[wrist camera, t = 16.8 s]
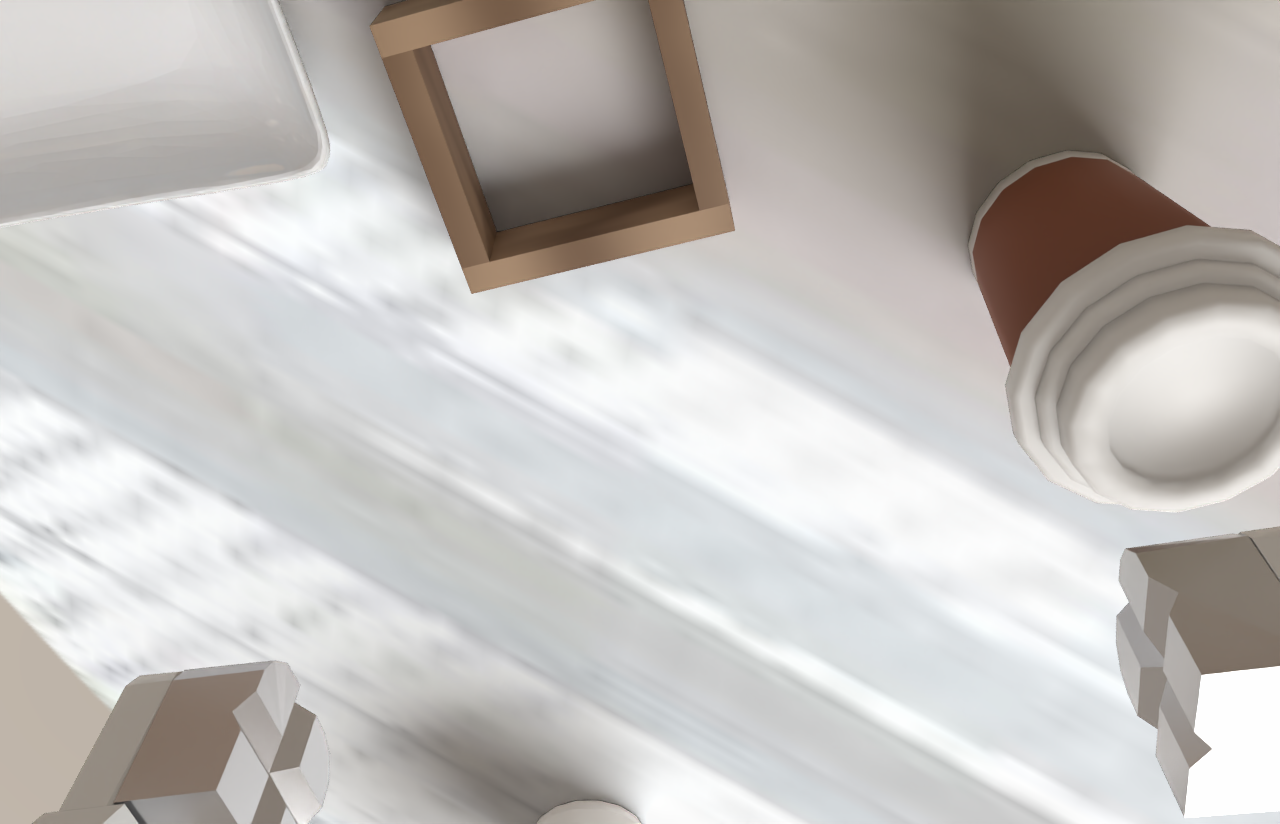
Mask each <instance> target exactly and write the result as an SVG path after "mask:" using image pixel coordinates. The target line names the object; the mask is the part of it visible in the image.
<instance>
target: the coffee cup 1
mask: <svg viewBox="0 0 1280 824" xmlns="http://www.w3.org/2000/svg"><path fill="white" fill-rule="evenodd" d="M536 824H641V823H640V821H639V820H638V818H637V817H636V815H634V814H632V813H631V812H629V811H627V810H626V809H624V808H623V807H621V806H619V805H615V804H611V803H607V802H603V801H599V800H591V801H573V802H570V803H566V804H563V805H559V806H556V807H554V808H553V809H552V810H550V811H549V812H547V813H546V814H544V815H543V816H542V817H540V819H539V820H538V822H537V823H536Z"/></svg>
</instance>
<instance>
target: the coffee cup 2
mask: <svg viewBox="0 0 1280 824" xmlns="http://www.w3.org/2000/svg"><path fill="white" fill-rule="evenodd" d="M968 248H969V254H970V260H971V266H972V271H973V275H974V277H975V279H976V280H977V282H978V285H979V287H980V290H981V292H982V295H983V298H984V300H985V303H986V305H987V308H988V310H989V313H990V316H991V318H992V321H993V323H994V326H995V328H996V331H997V334H998V336H999V339H1000V341H1001V344H1002V347H1003V349H1004V352H1005V354H1006V357H1007V359H1008V362H1009V365H1010V371H1009V374H1008V377H1007V380H1006V384H1005V388H1006V394H1007V400H1008V406H1009V412H1010V418H1011V424H1012V430H1013V434H1014V436H1015V438H1016V440H1017V442H1018V443H1019V445H1020V446H1021V447H1022V449H1023V450H1024V451H1025V452H1026V454H1027V455H1028V456H1029V457H1030V459H1031V460H1032V461H1033V462H1034V464H1035V465H1036V466H1037V467H1038V469H1039V470H1040V471H1041V472H1042V474H1043V475H1044V476H1045V477H1046V479H1047V480H1048V481H1050V482H1052V483H1054V484H1056V485H1058V486H1061V487H1063V488H1065V489H1067V490H1069V491H1072V492H1074V493H1076V494H1078V495H1080V496H1082V497H1085V498H1087V499H1089V500H1091V501H1093V502H1096V503H1105V504H1120V505H1123V506H1125V507H1127V508H1129V509H1131V510H1147V511H1163V512H1181V511H1185V510H1190V509H1194V508H1198V507H1202V506H1206V505H1211V504H1215V503H1219V502H1223V501H1227V500H1229V499H1231V498H1232V497H1234V496H1236V495H1238V494H1240V493H1242V492H1243V491H1245V490H1247V489H1249V488H1251V487H1252V486H1254V485H1256V484H1258V483H1260V482H1262V481H1263V480H1265V479H1267V478H1269V477H1271V476H1272V475H1273V474H1274V473H1275V472H1276V471H1277V470H1278V469H1279V468H1280V246H1278V245H1276V244H1275V243H1273V242H1271V241H1269V240H1268V239H1266V238H1264V237H1262V236H1260V235H1259V234H1257V233H1255V232H1253V231H1252V230H1244V229H1231V228H1217V227H1211V226H1209V225H1208V224H1206V223H1205V222H1203V221H1202V220H1200V219H1199V218H1197V217H1196V216H1195V215H1193V214H1192V213H1190V212H1189V211H1187V210H1186V209H1184V208H1183V207H1181V206H1180V205H1178V204H1177V203H1175V202H1174V201H1172V200H1171V199H1170V198H1168V197H1167V196H1165V195H1164V194H1162V193H1161V192H1159V191H1158V190H1156V189H1155V188H1153V187H1152V186H1150V185H1149V184H1147V183H1146V182H1145V181H1143V180H1142V179H1140V178H1139V177H1137V176H1136V175H1135V174H1134V173H1133V172H1131V171H1130V170H1129V169H1128V168H1126V167H1124V166H1123V165H1121V164H1119V163H1117V162H1116V161H1114V160H1112V159H1110V158H1108V157H1107V156H1105V155H1103V154H1101V153H1092V152H1080V151H1067V150H1065V151H1062V152H1058V153H1055V154H1052V155H1048V156H1045V157H1041V158H1038V159H1035V160H1031V161H1029V162H1027V163H1026V164H1024V165H1023V166H1021V167H1020V168H1019V169H1017V170H1016V171H1014V172H1013V173H1012V174H1010V175H1009V176H1007V177H1006V178H1004V179H1003V180H1002V181H1000V182H999V183H998V184H997V185H996V186H995V188H994V189H993V191H992V192H991V193H990V195H989V196H988V197H987V199H986V200H985V202H984V203H983V204H982V206H981V207H980V209H979V210H978V211H977V213H976V216H975V220H974V224H973V228H972V231H971V235H970V239H969V243H968Z"/></svg>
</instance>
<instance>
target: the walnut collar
mask: <svg viewBox="0 0 1280 824" xmlns="http://www.w3.org/2000/svg"><path fill="white" fill-rule="evenodd" d="M590 1H594V0H407V1H403V2H400V3H396V4H392V5H389V6H385V7H384V8H383V9H382V11H381V12H380V13H379V15H378V16H377V17H376V18H375V20H374V21H373V22H372V23H371V25H370V29H371V31H372V34H373V37H374V39H375V42H376V45H377V47H378V50H379V52H380V55H381V58H382V60H383V63H384V66H385V68H386V71H387V73H388V76H389V79H390V81H391V84H392V86H393V89H394V92H395V94H396V97H397V100H398V102H399V105H400V107H401V110H402V113H403V115H404V118H405V121H406V123H407V126H408V128H409V131H410V134H411V136H412V139H413V142H414V144H415V147H416V149H417V152H418V155H419V157H420V160H421V163H422V165H423V168H424V170H425V173H426V176H427V178H428V181H429V183H430V186H431V189H432V191H433V194H434V197H435V199H436V202H437V204H438V207H439V210H440V212H441V215H442V218H443V220H444V223H445V225H446V228H447V231H448V233H449V236H450V239H451V241H452V244H453V246H454V249H455V252H456V254H457V257H458V260H459V262H460V265H461V267H462V270H463V273H464V275H465V278H466V280H467V283H468V286H469V288H470V291H471V294H473V293H477V292H482V291H486V290H490V289H494V288H498V287H502V286H507V285H511V284H515V283H519V282H523V281H527V280H531V279H536V278H540V277H544V276H548V275H552V274H556V273H561V272H565V271H569V270H573V269H577V268H581V267H586V266H590V265H594V264H598V263H602V262H606V261H611V260H615V259H619V258H623V257H627V256H631V255H636V254H640V253H644V252H648V251H652V250H656V249H660V248H665V247H669V246H673V245H677V244H681V243H685V242H690V241H694V240H698V239H702V238H706V237H710V236H715V235H719V234H723V233H727V232H731V231H735V228H734V223H733V217H732V212H731V207H730V202H729V198H728V193H727V189H726V184H725V180H724V176H723V171H722V167H721V163H720V158H719V154H718V149H717V145H716V141H715V136H714V132H713V127H712V123H711V119H710V114H709V110H708V105H707V101H706V97H705V92H704V88H703V84H702V79H701V75H700V70H699V66H698V62H697V57H696V53H695V48H694V44H693V40H692V35H691V31H690V27H689V22H688V18H687V13H686V9H685V5H684V0H648V2H649V6H650V10H651V14H652V18H653V22H654V26H655V30H656V34H657V38H658V42H659V47H660V51H661V55H662V59H663V63H664V67H665V71H666V75H667V79H668V83H669V87H670V91H671V96H672V100H673V104H674V108H675V112H676V116H677V120H678V124H679V128H680V132H681V136H682V141H683V145H684V149H685V153H686V157H687V161H688V165H689V169H690V173H691V177H692V181H693V184H690V185H686V186H682V187H678V188H674V189H670V190H666V191H662V192H658V193H654V194H650V195H646V196H642V197H638V198H634V199H630V200H626V201H621V202H617V203H613V204H609V205H605V206H601V207H597V208H593V209H589V210H585V211H581V212H577V213H573V214H569V215H565V216H561V217H557V218H553V219H549V220H545V221H541V222H537V223H532V224H528V225H524V226H520V227H516V228H512V229H508V230H504V231H500V232H497V231H496V228H495V225H494V223H493V220H492V217H491V214H490V211H489V209H488V206H487V203H486V200H485V197H484V194H483V192H482V189H481V186H480V183H479V180H478V178H477V175H476V172H475V169H474V166H473V163H472V161H471V158H470V155H469V152H468V149H467V147H466V144H465V141H464V138H463V135H462V133H461V130H460V127H459V124H458V121H457V118H456V116H455V113H454V110H453V107H452V104H451V102H450V99H449V96H448V93H447V90H446V88H445V85H444V82H443V79H442V76H441V73H440V71H439V68H438V65H437V62H436V59H435V57H434V54H433V51H432V48H431V45H432V44H436V43H440V42H443V41H447V40H451V39H454V38H458V37H462V36H465V35H469V34H473V33H476V32H480V31H484V30H487V29H491V28H495V27H498V26H502V25H506V24H509V23H513V22H517V21H520V20H524V19H528V18H531V17H535V16H539V15H542V14H546V13H550V12H553V11H557V10H561V9H564V8H568V7H572V6H575V5H579V4H583V3H586V2H590Z"/></svg>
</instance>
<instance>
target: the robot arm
mask: <svg viewBox="0 0 1280 824" xmlns="http://www.w3.org/2000/svg"><path fill="white" fill-rule="evenodd" d="M1119 583H1120V585H1121V587H1122V589H1123V591H1124V593H1125V595H1126V597H1127V599H1128V601H1129V603H1128V604H1127V605H1126V606H1125V607H1124V608H1123V610H1122V611H1121V612H1120V613H1119V614H1118V615H1117V617H1116V646H1117V652H1118V658H1119V665H1120V671H1121V674H1122V677H1123V680H1124V683H1125V687H1126V690H1127V693H1128V695H1129V698H1130V700H1131V702H1132V704H1133V707H1134V709H1135V711H1136V714H1137V716H1139V717H1140V718H1142V719H1143V720H1145V721H1146V722H1148V723H1149V724H1151V725H1152V726H1154V727H1155V728H1157V729H1158V732H1157V744H1156V758H1157V760H1158V762H1159V764H1160V766H1161V768H1162V770H1163V773H1164V775H1165V777H1166V779H1167V781H1168V783H1169V785H1170V788H1171V790H1172V792H1173V794H1174V796H1175V798H1176V800H1177V803H1178V805H1179V807H1180V809H1181V811H1182V813H1183V815H1184V818H1189V817H1202V816H1215V815H1228V814H1241V813H1254V812H1268V811H1280V527H1273V528H1266V529H1259V530H1252V531H1245V532H1240V533H1239V534H1227V535H1220V536H1212V537H1205V538H1198V539H1191V540H1184V541H1177V542H1169V543H1162V544H1155V545H1148V546H1141V547H1134V548H1126V549H1125V550H1124V552H1123V555H1122V557H1121V559H1120V569H1119ZM299 688H300V684H299V682H298V680H297V679H296V677H295V675H294V674H293V672H292V670H291V669H290V667H289V665H288V663H285V662H280V661H266V662H256V663H247V664H237V665H228V666H218V667H209V668H199V669H190V670H184V671H182V672H172V673H162V674H152V675H142V676H139V677H137V678H136V679H134V680H133V681H132V682H130V683H129V684H128V685H126V687H125V688H124V690H123V692H122V694H121V696H120V698H119V699H118V701H117V703H116V705H115V707H114V709H113V711H112V713H111V714H110V716H109V718H108V720H107V722H106V724H105V726H104V728H103V729H102V731H101V733H100V735H99V737H98V739H97V741H96V742H95V744H94V746H93V748H92V750H91V752H90V754H89V756H88V757H87V760H86V761H85V763H84V765H83V767H82V769H81V771H80V772H79V774H78V776H77V778H76V780H75V782H74V784H73V786H72V787H71V789H70V791H69V793H68V795H67V797H66V799H65V800H64V802H63V804H62V806H61V808H60V810H59V811H57V812H51V813H44V814H43V815H42V816H40V817H39V818H38V819H37V820H36V821H35V822H33V823H32V824H307V823H308V822H309V821H310V820H311V819H312V818H313V817H314V816H315V815H316V814H317V813H318V812H319V811H320V810H321V809H322V806H323V802H324V799H325V795H326V791H327V788H328V784H329V759H330V753H329V749H328V744H327V740H326V736H325V732H324V730H323V728H322V726H321V724H320V722H319V720H318V718H317V716H316V715H315V714H313V713H311V712H310V711H308V710H306V709H305V708H303V707H301V706H300V705H298V704H296V703H295V699H296V696H297V694H298V691H299Z"/></svg>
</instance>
